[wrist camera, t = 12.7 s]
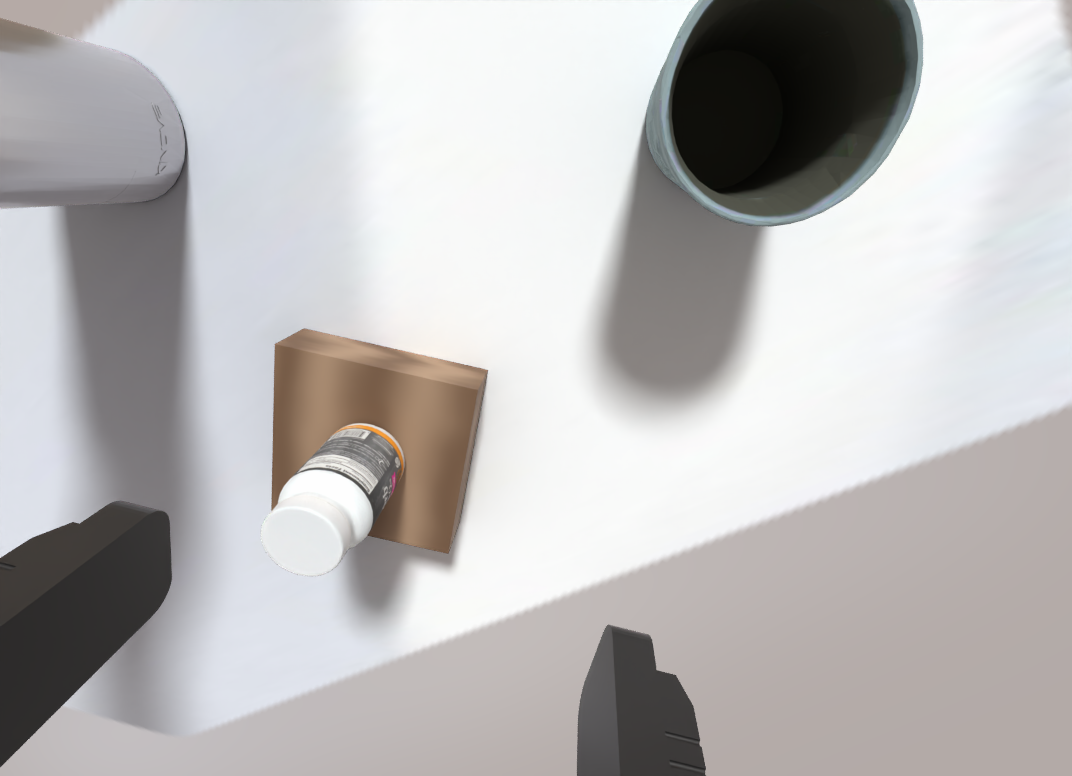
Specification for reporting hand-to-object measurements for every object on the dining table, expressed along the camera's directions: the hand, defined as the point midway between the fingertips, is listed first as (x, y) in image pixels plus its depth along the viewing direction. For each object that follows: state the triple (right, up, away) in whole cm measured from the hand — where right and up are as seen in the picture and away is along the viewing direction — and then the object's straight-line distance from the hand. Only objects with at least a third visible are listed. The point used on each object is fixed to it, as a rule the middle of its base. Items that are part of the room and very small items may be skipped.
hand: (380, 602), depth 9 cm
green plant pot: (+14, +20, +23) cm, 33 cm away
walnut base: (-9, 0, +32) cm, 34 cm away
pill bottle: (-9, -1, +29) cm, 30 cm away
